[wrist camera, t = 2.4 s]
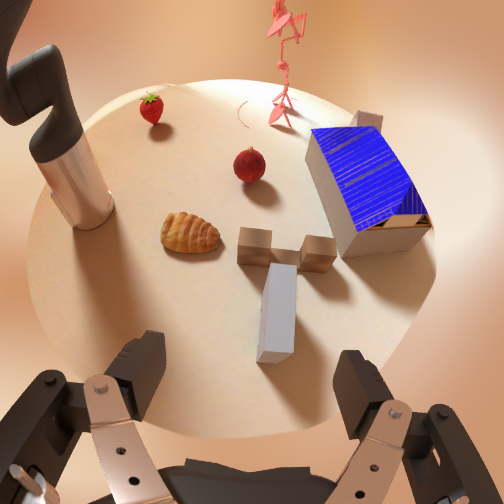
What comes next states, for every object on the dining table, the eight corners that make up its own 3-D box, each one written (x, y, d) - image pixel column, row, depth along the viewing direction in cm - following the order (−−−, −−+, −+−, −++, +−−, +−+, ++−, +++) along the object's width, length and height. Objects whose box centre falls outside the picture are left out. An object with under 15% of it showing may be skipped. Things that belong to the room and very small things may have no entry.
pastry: (224, 228, 45) (224, 214, 42) (213, 263, 42) (211, 250, 39) (173, 217, 46) (169, 203, 42) (159, 250, 42) (153, 237, 39)
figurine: (297, 97, 71) (312, -8, 41) (290, 143, 58) (313, -4, 28) (247, 90, 72) (251, -14, 41) (224, 134, 59) (223, -11, 29)
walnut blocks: (237, 263, 42) (237, 244, 37) (239, 247, 43) (240, 227, 38) (325, 273, 42) (337, 256, 37) (325, 256, 43) (335, 238, 39)
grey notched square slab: (278, 364, 34) (293, 352, 26) (256, 362, 34) (264, 350, 26) (282, 296, 39) (296, 265, 31) (262, 294, 39) (270, 262, 31)
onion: (269, 184, 51) (274, 152, 44) (243, 195, 49) (245, 162, 42) (252, 166, 53) (255, 135, 46) (227, 176, 51) (227, 144, 44)
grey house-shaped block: (372, 150, 60) (386, 120, 51) (349, 147, 60) (361, 114, 51) (367, 142, 62) (380, 112, 53) (345, 138, 61) (356, 106, 53)
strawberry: (141, 134, 58) (133, 100, 49) (146, 118, 61) (140, 87, 53) (164, 130, 58) (158, 96, 50) (167, 115, 62) (163, 83, 53)
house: (410, 252, 45) (456, 200, 32) (339, 260, 43) (379, 198, 30) (365, 161, 58) (388, 108, 44) (303, 159, 56) (318, 97, 42)
